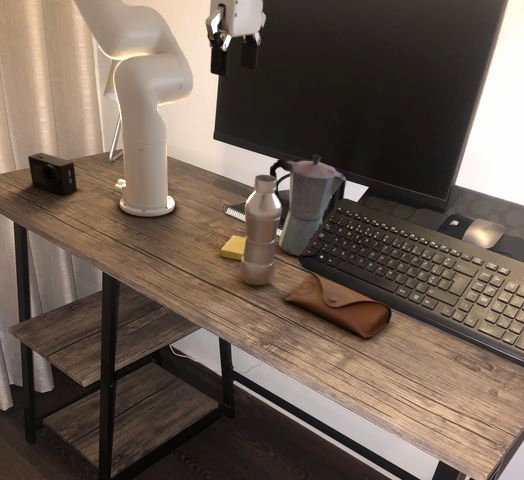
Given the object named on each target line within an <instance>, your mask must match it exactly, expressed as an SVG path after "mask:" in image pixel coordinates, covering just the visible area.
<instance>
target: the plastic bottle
mask: <svg viewBox="0 0 524 480" xmlns="http://www.w3.org/2000/svg"><path fill="white" fill-rule="evenodd" d="M276 181H277V182H278V179H277V180H276V178H275V177H273V176H270V174H257V175H255V176H254V184H253V189H254V191H253V192H252V193H251V194H250V196H249V197H248V199H247V200H246V202H245V205H244V221H245V238H246V239H245V247H244V252H243V257H242V260H240V264H239V275H240V278H241V279H242V280H243V282H245V283H247V284H249V285H251V286H264V285H267V284H269V283H270V282H271V281H272V280H273V279H274V277H275V273H276V261H275V246H276V245H275V244H276V238H277V232H278V228H279V224H280V220H281V217H282V213H283V207H282V206H283V205H281V203H280V201H279V199H278V197H277V196H276V194H275V191H276V188H277V187H276Z"/></svg>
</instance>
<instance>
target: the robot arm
mask: <svg viewBox="0 0 524 480" xmlns="http://www.w3.org/2000/svg"><path fill="white" fill-rule="evenodd" d="M72 1H73V2H74V4H75V7H76V8H77V9H78V11H79V13H80V15H81V17H82V19H83V20H84V23H85V25H86V26H87V28H88V29H89V31H90V33H91V35H92V37H93V38H94V41H95V42H96V43H97V45H98V47H99V49H100V50H101V52H102V53H103V54H104V55H105V56H106V57H108V58H110V59H113V60H121V61H119V62H118V63H117V65H116V66H115V68H114V70H113V77H112V81H113V88H114V92H115V97H116V100H117V104H118V109H119V116H120V125H121V126H120V127H121V138H122V139H121V140H122V153H123V154H122V155H123V170H124V171H123V172H124V179H118V180H117V181H116V184H115V185H114V188H113V189H114V191H116V192H120V193H122V197H121V198H120V199H119V208H120V209H121V210H122V211H123V212H125V213H127V214H129V215H132V216H137V217H159V216H163V215H167V214H169V213H171V212H172V211H173V210H174V209H175V203H176V202H175V200H174V199H173V198H172V197H171V196H169V190H168V189H169V188H168V187H169V185H168V184H169V182H168V141H167V140H168V139H167V138H168V137H167V135H168V134H167V133H168V132H167V126H166V123H165V120H164V118H163V116H162V115H161V113H160V110H159V107H158V106H162V105H168V104H173V103H178V102H182V101H184V100H185V99H187V98H188V97H189V96H190V95H191V93H192V91H193V88H194V76H193V71H192V68H191V66H190V63H189V61H188V59H187V57H186V55H185V54H184V51H183V50H182V48H181V46H180V44H179V42H178V41H177V38H176V37H175V34H174V33H173V32H172V29H171V27H170V26H169V24H168V22H167V21H166V19H165V18H164V16H163V15H162V14H161V13H160V12H159V11H157V10H156V9H155V8H153V7H151V6H147V5H129V4H126V3H125V2H124V1H123V0H72ZM263 9H264V0H210V5H209V16H208V17H207V18H206V19H205V21H204V23H205V27H206V31H207V35H206V36H207V39H208V42H209V43H208V45H209V48H210V50H211V51H210V69H209V70H210V71H209V72H210V73H211V74H213V75H216V76H219V77H227V76H228V73H229V72H228V71H229V58H230V57H229V56H230V55H229V54H230V50H228V49H227V48H228V47H229V45H230V42H231V39H232V38H238V37H243V40H244V41H243V42H241V50H240V51H241V53H240V67H241V68H244V69H249V70H253V71H254V70H255V71H256V69H257V68H258V67H257V66H258V55H259V47H260V44H261V40H262V39H261V37H262V35H263V32H264V26H265V24H266V20H267V15H266V14H265V13H264V12H263ZM222 37H223V38H222Z"/></svg>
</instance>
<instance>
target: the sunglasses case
mask: <svg viewBox="0 0 524 480" xmlns="http://www.w3.org/2000/svg"><path fill="white" fill-rule="evenodd" d="M284 301H285V302H287V303H289V304H290V303H291V304H293V305H296V306H298V307H299V308H302V309H305V310H307V312H310V313H313V314H314V315H317V316H318V317H321V318H322V319H325V320H327V321H328V322H330V323H332V324H334V325H336V326H338V327H340V328H342V329H344V330H346V331H349V332H351V333H353V334H355V335H357V336H360V337H362V338H365V339H370V338H371V337H373V336H375V335H377V334H379V332H381V331H382V330H384V329H385V328H386V327H388V325H389V323H390V321H391V319H392V314H393V312H392V308H391V307H390V306H389V305H387V304H386V303H383V302H380V301H377V300H374V299H371V298H369V297H368V296H366V295H363V294H361V293H360V292H357V291H355V290H353V289H350V288H348V287H346V286H344V285H341V284H339V283H336V282H334V281H332V280H329V279H327V278H324V277H322V276H320V275H318V274H317V273H315V272H313V271H311V270H310V271H308V273H307V274H306V276H305V277H304V278H303V279H302V281H301V282H300V283H299V284H298V285H297V287H296V288H295V289H294V290H293V292H292V293H291V294H290V295H289V296H288V297H286V298H284Z"/></svg>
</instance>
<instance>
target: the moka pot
mask: <svg viewBox="0 0 524 480" xmlns="http://www.w3.org/2000/svg"><path fill="white" fill-rule="evenodd" d="M321 159H322V156H321V155H319V154H313V157H312V161H311V160H300V161H297V162H295V161H293V160H286V159H284V158H282V157H280V158H279V159H277V160H276V162H274V163H273V164H271V166H270V167H269V175H270V176H273V177H275V178H276V180H277V181H276V187H277V188H276V191H275V194H276V196H277V197H278V199H279V201H280V203H281V206H284V207H285V206H286V205H287V202H286V200H283V199H281V198H280V193H279V183H278V176H277V169H280V168H281V169H283V170H284V171H285V172H289V177H290V178H289V192H288V193H289V194H288V195H289V196H288V200H289V203H288V212H287V215H286V218H285V221H284V225H283V227H282V230H281V233H280V236H279V240H278V245H279V247H280V248H281V250H282V251H284V252H286V253H287V254H289V255H293V256H297V257H301V256H300V255H301V252H302V251H303V249H304V248H305V247H306V246H307V244H308V242H309V240H310V239H311V238H312V237H313V235H314V234H315V233H316V231H317V230H318V228H319V227H320V225H321V224H322V225H323V217H324V214H325V211H326V210H327V209H328V207H329V203H330V200H331V198H332V196H333V195H334V194H335V193H336V191H337V190H338V189H339V187H340V186H341V185H342V183H343V182H346V180H347V179H346V177H345V175H344V174H343V173H341V172H339V171H337V169H336V168H335V167H334V166H331V165H329V164H326V163H323V162H321Z"/></svg>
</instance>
